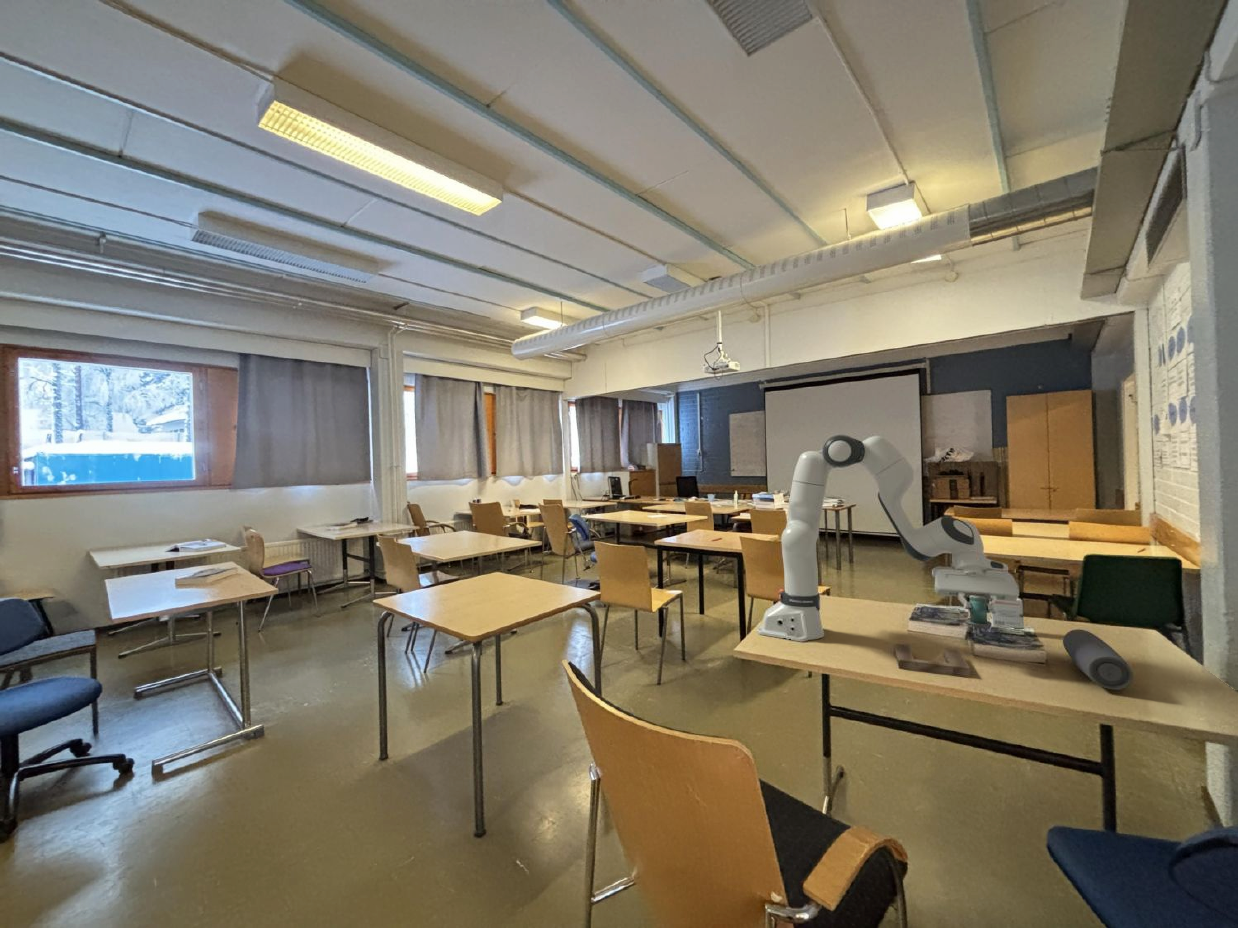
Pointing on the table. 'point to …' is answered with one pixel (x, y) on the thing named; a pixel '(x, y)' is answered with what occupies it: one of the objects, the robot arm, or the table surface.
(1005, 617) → the ink box
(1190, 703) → the table surface
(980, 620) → the bobbin
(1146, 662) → the table surface
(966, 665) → the notched board
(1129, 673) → the bluetooth speaker
